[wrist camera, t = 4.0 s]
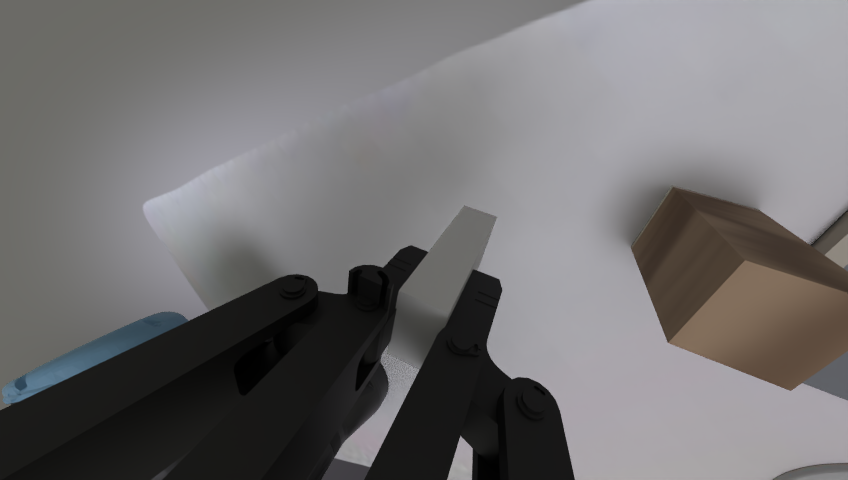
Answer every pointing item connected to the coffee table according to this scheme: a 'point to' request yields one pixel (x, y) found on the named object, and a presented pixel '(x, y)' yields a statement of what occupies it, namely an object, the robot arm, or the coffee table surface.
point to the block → (742, 288)
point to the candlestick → (818, 473)
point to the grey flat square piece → (844, 247)
